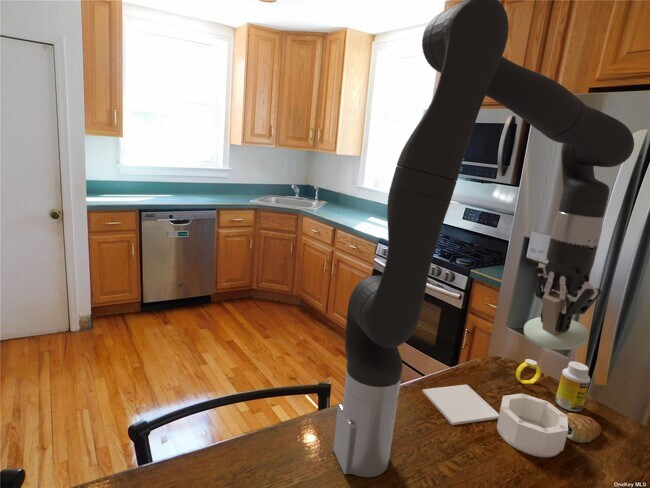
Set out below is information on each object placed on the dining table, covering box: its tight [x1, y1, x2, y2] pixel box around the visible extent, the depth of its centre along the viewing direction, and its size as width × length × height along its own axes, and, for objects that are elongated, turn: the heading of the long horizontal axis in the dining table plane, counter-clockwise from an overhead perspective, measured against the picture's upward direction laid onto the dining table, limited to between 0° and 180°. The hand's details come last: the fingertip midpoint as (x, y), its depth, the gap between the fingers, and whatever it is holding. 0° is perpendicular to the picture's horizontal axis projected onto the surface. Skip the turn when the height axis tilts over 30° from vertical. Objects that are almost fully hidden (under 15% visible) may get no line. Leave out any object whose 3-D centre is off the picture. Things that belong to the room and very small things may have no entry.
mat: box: [422, 384, 499, 426], centre depth 95 cm, size 12×12×1 cm
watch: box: [515, 358, 542, 385], centre depth 106 cm, size 6×3×6 cm, turn 99°
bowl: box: [496, 393, 568, 458], centre depth 86 cm, size 12×12×6 cm
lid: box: [523, 293, 589, 351], centre depth 80 cm, size 11×11×8 cm
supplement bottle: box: [555, 360, 591, 413], centre depth 98 cm, size 6×6×10 cm
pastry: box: [563, 411, 602, 444], centre depth 89 cm, size 9×7×4 cm
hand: (553, 326), depth 81 cm, fingers closed on lid, 3 cm apart
